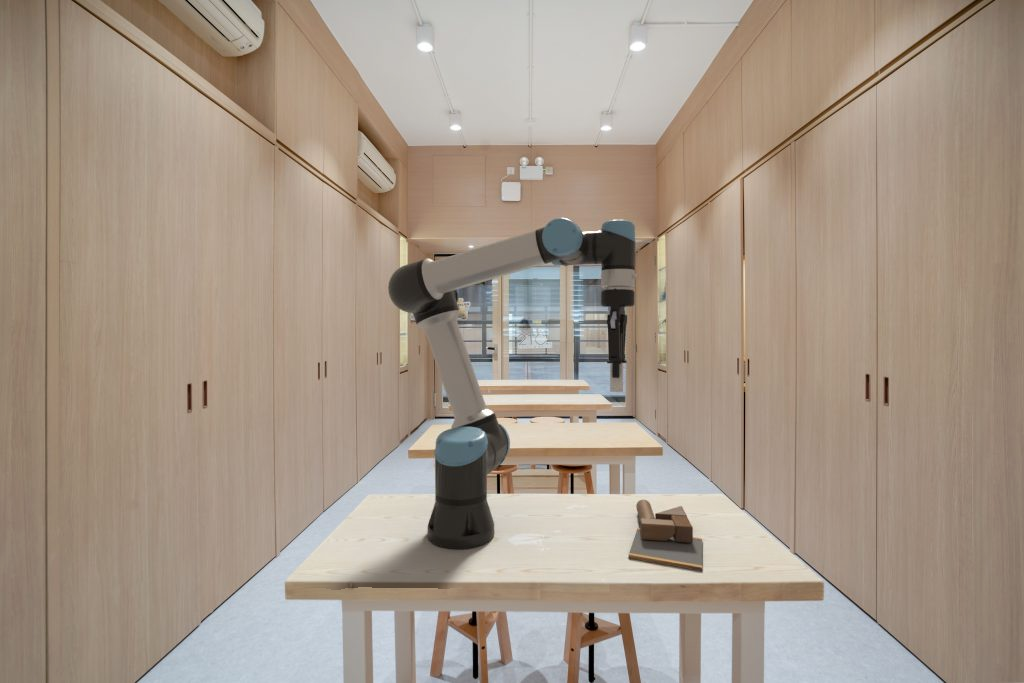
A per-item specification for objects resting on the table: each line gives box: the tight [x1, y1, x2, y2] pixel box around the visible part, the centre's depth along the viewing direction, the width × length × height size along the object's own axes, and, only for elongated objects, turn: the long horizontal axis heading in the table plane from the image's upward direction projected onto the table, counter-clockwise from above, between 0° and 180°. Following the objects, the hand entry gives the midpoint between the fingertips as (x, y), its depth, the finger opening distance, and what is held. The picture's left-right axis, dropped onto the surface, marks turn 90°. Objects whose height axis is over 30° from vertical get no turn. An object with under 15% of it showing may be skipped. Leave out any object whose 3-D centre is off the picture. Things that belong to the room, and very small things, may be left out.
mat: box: [628, 527, 703, 572], centre depth 104 cm, size 14×14×1 cm
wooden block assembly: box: [635, 499, 694, 543], centre depth 114 cm, size 4×11×18 cm
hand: (616, 391), depth 112 cm, fingers closed
